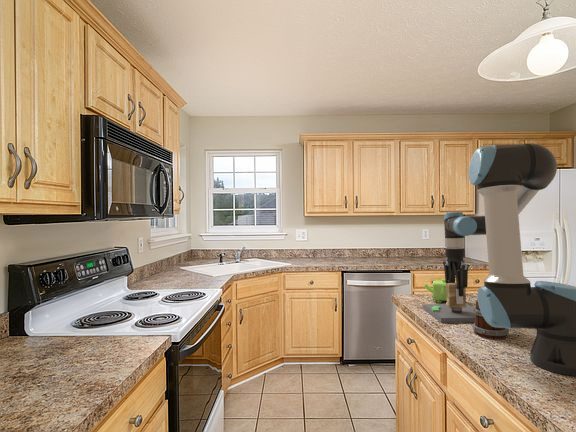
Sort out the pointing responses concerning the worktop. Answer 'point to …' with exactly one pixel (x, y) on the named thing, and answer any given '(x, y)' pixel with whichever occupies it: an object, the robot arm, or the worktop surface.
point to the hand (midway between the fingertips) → (456, 302)
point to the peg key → (454, 298)
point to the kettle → (438, 290)
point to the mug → (487, 327)
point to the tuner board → (450, 313)
